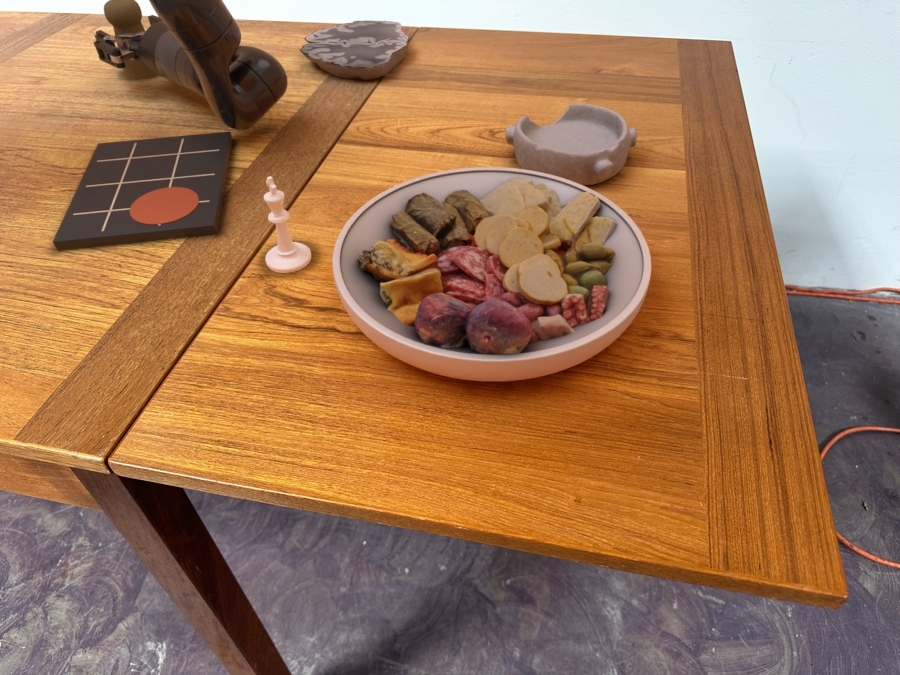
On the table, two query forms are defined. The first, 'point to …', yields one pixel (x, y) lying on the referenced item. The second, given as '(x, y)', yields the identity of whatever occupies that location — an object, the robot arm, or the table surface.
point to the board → (148, 191)
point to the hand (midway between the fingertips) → (126, 29)
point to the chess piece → (283, 236)
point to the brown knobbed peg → (127, 20)
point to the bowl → (491, 272)
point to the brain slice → (357, 48)
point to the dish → (574, 144)
